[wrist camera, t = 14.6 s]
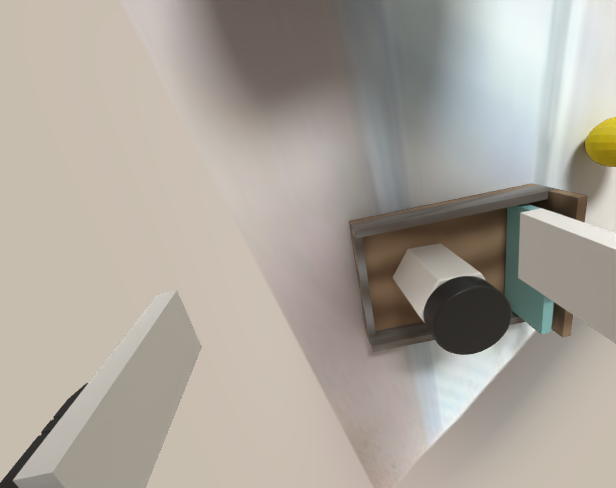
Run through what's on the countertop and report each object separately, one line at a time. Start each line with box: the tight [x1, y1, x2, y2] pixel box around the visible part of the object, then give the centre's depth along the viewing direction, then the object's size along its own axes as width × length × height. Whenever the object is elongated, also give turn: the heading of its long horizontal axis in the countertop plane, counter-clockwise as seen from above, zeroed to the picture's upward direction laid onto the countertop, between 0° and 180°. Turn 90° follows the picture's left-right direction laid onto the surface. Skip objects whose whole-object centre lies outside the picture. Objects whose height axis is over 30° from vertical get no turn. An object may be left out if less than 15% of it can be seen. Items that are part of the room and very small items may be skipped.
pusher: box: [505, 204, 561, 334], centre depth 38 cm, size 15×2×8 cm, turn 11°
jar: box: [393, 243, 512, 355], centre depth 37 cm, size 9×8×12 cm
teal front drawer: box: [349, 184, 588, 352], centre depth 40 cm, size 18×24×8 cm
